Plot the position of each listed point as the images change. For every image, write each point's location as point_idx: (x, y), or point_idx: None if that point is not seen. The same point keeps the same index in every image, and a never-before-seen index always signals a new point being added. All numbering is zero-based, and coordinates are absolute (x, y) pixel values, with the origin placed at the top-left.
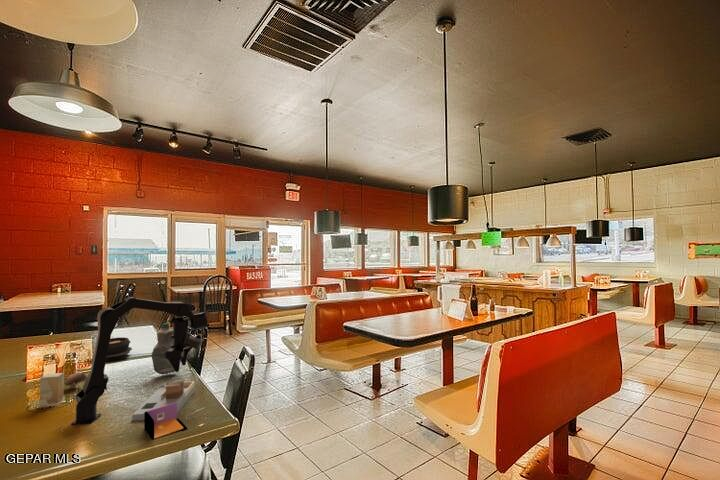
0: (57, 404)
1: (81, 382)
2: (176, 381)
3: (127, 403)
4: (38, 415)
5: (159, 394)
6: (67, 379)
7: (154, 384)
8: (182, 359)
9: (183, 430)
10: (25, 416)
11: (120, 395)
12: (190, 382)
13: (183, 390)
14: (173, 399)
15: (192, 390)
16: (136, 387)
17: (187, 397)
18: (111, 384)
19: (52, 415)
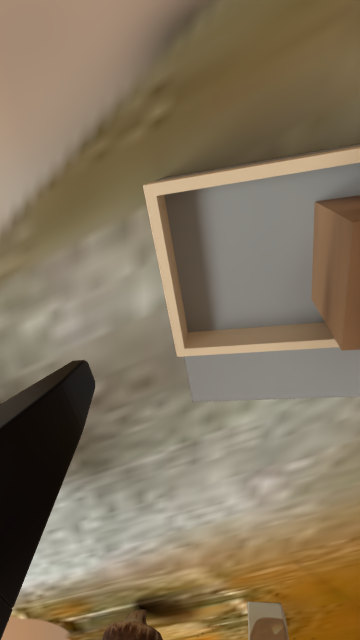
0: (281, 612)
1: (138, 623)
2: (352, 297)
3: (297, 460)
4: (335, 615)
5: (304, 365)
6: None
7: (82, 441)
8: (55, 453)
9: None
10: (333, 630)
11: (203, 505)
12: (160, 218)
13: (324, 204)
14: None
15: (209, 171)
16: (122, 486)
17: (346, 147)
18: (103, 553)
19: (348, 595)
